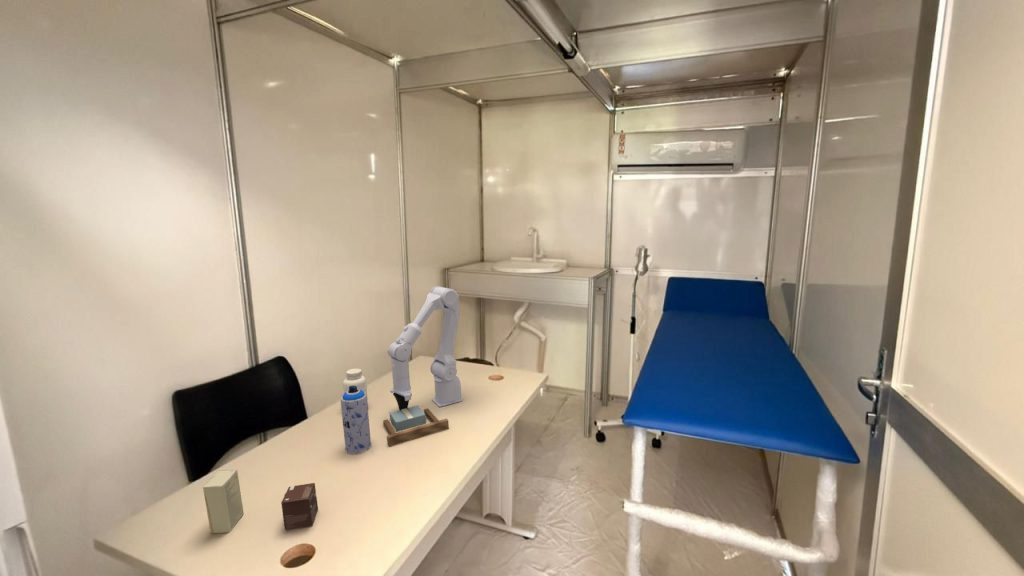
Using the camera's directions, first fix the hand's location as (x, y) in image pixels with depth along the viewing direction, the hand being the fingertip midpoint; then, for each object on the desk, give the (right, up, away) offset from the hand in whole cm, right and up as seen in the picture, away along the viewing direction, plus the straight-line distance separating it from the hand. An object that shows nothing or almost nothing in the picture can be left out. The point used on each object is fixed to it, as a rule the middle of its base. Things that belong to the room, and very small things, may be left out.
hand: (403, 411), depth 148 cm
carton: (+3, -3, -4) cm, 6 cm away
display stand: (+5, -3, -8) cm, 10 cm away
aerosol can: (-9, -6, -19) cm, 22 cm away
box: (-11, -11, -49) cm, 52 cm away
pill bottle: (-19, -1, +6) cm, 20 cm away
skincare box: (-28, -12, -50) cm, 59 cm away
